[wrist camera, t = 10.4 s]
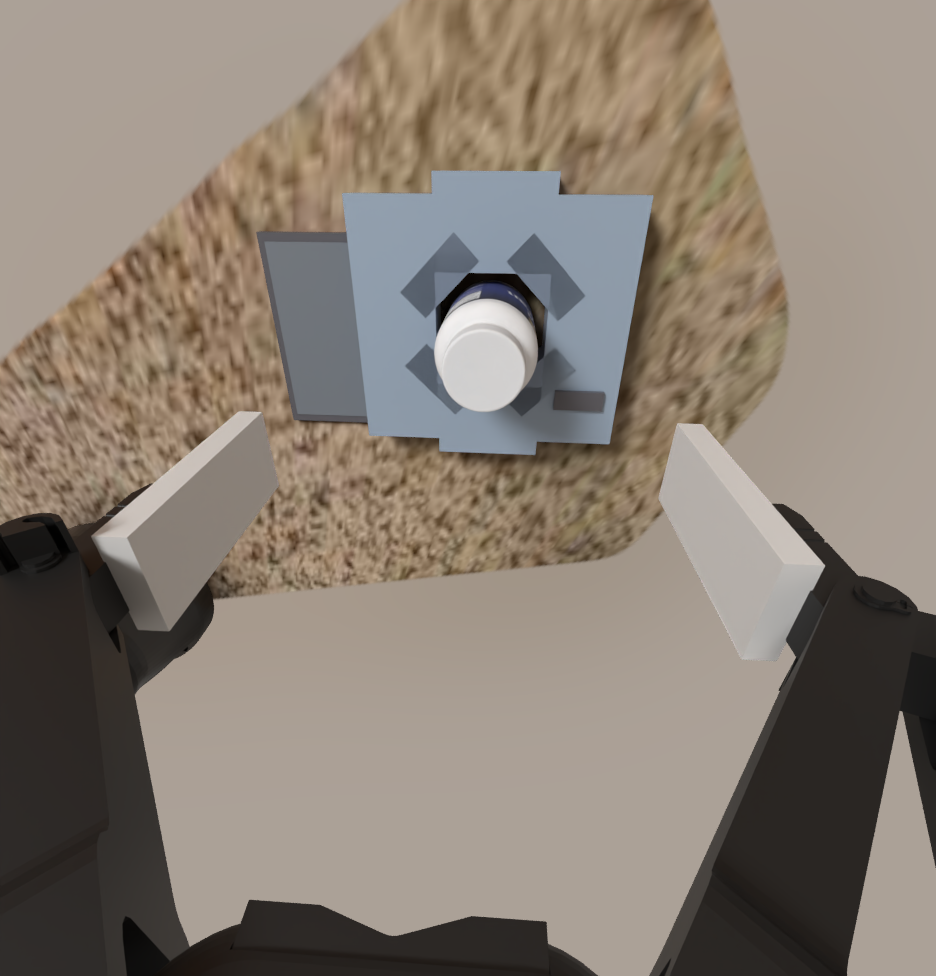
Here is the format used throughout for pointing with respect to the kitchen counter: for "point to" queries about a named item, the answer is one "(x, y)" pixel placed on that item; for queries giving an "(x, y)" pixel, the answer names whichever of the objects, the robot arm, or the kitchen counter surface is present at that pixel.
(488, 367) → the pill bottle
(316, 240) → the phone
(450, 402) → the dock
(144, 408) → the kitchen counter surface
